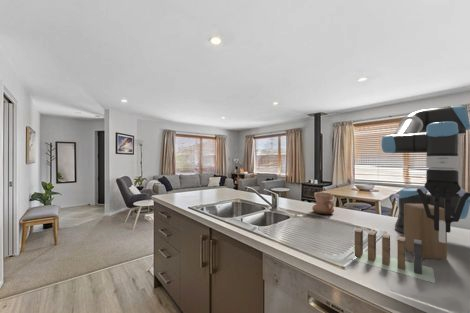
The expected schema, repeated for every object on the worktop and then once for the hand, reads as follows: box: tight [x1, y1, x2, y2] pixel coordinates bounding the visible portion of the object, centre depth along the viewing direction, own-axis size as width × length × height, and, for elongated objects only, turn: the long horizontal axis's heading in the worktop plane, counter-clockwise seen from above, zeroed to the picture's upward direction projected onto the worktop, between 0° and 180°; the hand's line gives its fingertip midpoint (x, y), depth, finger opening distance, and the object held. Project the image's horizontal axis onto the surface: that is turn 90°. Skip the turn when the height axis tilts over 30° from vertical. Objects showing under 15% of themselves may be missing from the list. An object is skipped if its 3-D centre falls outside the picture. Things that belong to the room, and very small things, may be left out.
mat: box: [347, 247, 436, 284], centre depth 79 cm, size 12×26×1 cm, turn 49°
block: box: [403, 203, 448, 260], centre depth 87 cm, size 10×10×20 cm
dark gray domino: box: [413, 239, 423, 275], centre depth 73 cm, size 5×2×10 cm, turn 139°
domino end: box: [354, 227, 364, 258], centre depth 85 cm, size 5×2×10 cm, turn 139°
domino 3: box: [396, 235, 406, 270], centre depth 76 cm, size 5×2×10 cm, turn 139°
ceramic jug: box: [312, 191, 335, 215], centre depth 152 cm, size 18×14×14 cm
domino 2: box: [381, 232, 391, 266], centre depth 79 cm, size 5×2×10 cm, turn 139°
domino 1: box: [367, 230, 377, 262], centre depth 82 cm, size 5×2×10 cm, turn 139°
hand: (442, 241), depth 69 cm, fingers closed
